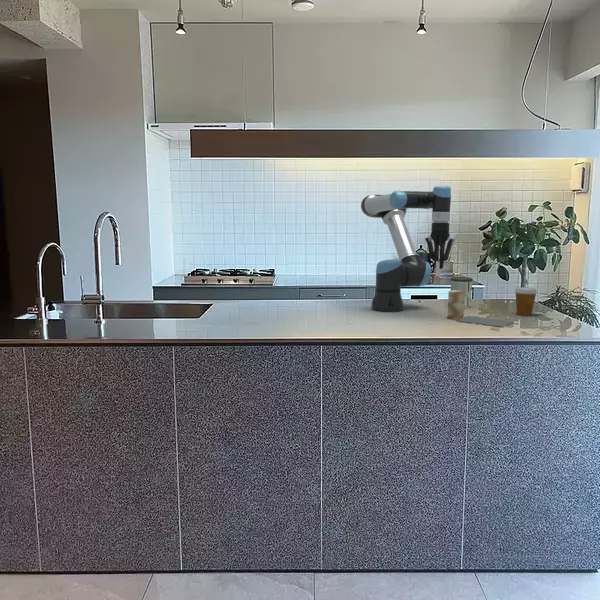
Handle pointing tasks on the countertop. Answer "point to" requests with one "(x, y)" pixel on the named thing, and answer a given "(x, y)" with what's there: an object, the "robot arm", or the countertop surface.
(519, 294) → the disposable coffee cup
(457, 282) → the lidded glass jar
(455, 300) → the oak block
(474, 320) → the mat
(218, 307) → the countertop surface
